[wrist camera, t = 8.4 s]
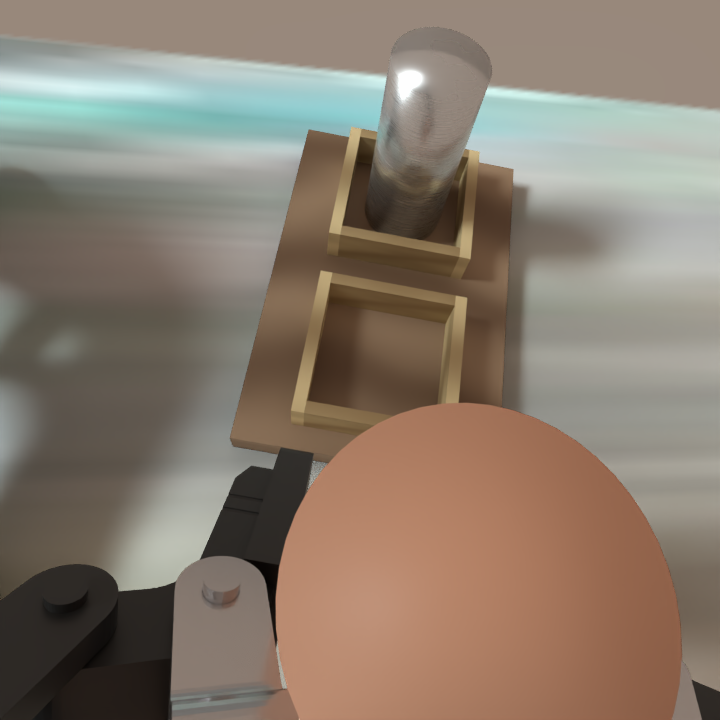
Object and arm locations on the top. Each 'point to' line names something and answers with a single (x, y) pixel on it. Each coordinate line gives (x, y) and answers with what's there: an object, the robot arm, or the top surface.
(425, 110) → the pin
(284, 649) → the pin
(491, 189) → the wooden compartment tray
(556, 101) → the top surface
